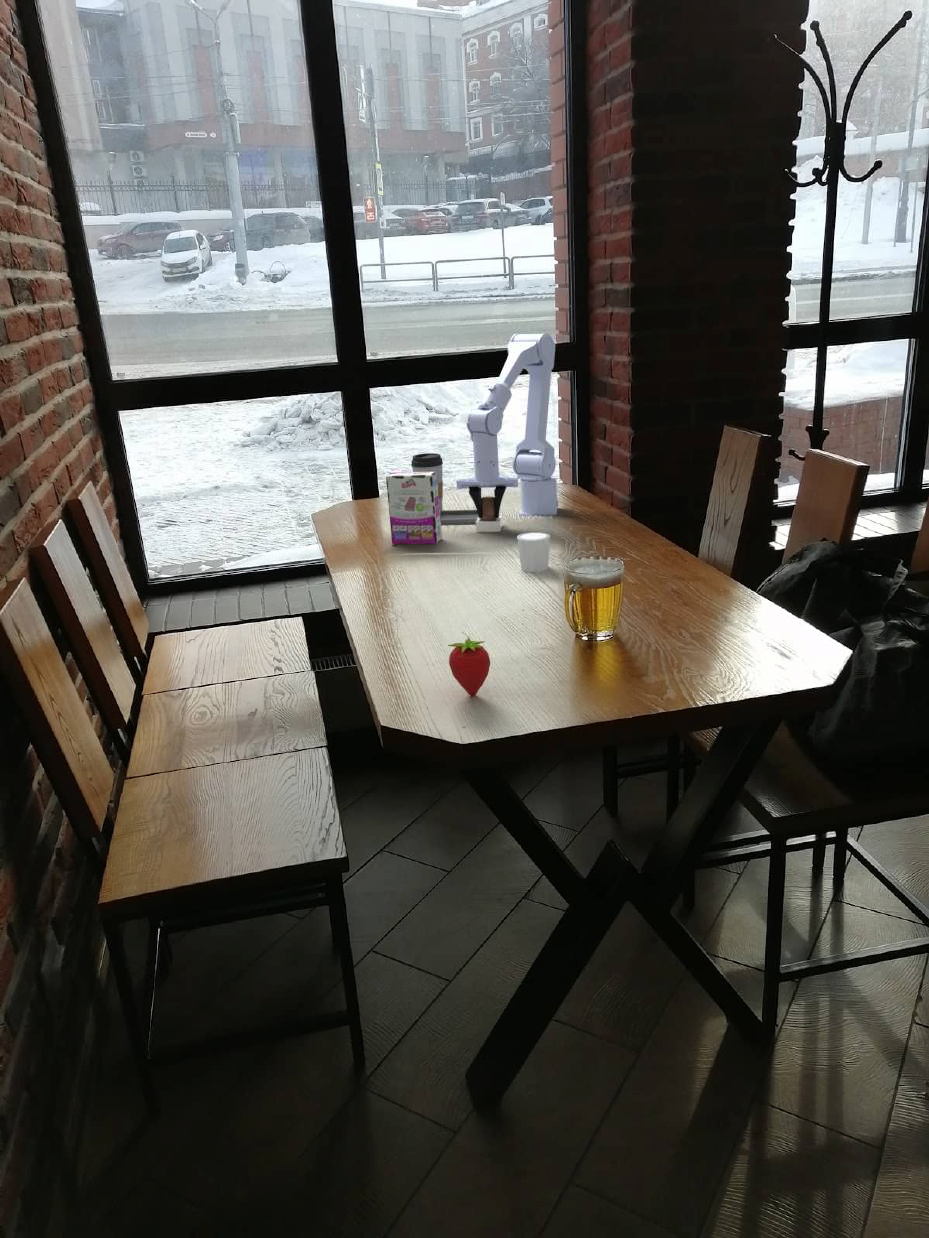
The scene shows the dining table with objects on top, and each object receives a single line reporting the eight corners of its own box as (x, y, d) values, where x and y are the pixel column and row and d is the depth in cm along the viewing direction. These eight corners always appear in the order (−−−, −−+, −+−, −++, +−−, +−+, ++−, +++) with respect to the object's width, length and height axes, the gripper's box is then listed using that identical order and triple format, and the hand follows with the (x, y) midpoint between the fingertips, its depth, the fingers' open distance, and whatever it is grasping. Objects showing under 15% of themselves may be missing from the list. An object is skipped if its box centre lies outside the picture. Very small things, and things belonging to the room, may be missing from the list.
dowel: (497, 526, 226) (495, 496, 224) (495, 530, 223) (494, 499, 220) (483, 527, 227) (481, 496, 224) (481, 530, 223) (480, 499, 221)
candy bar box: (442, 540, 219) (438, 470, 213) (437, 545, 214) (432, 475, 209) (397, 539, 222) (391, 471, 216) (391, 545, 217) (385, 475, 212)
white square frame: (502, 526, 227) (502, 515, 226) (500, 533, 222) (499, 521, 221) (479, 527, 228) (478, 516, 227) (476, 533, 223) (475, 522, 222)
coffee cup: (410, 515, 244) (405, 458, 239) (420, 508, 251) (416, 452, 246) (440, 516, 241) (436, 458, 236) (450, 508, 249) (446, 452, 244)
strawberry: (455, 709, 132) (451, 643, 128) (447, 687, 139) (443, 625, 135) (496, 703, 132) (493, 638, 129) (486, 683, 139) (483, 620, 136)
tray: (492, 515, 239) (491, 509, 238) (487, 525, 230) (487, 518, 229) (438, 516, 241) (438, 510, 241) (432, 526, 232) (431, 520, 231)
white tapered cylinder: (549, 573, 189) (548, 540, 187) (515, 573, 191) (514, 540, 188) (552, 563, 196) (552, 531, 193) (520, 563, 197) (519, 531, 195)
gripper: (453, 465, 217) (456, 522, 221) (515, 463, 214) (517, 520, 219) (457, 459, 223) (460, 514, 228) (518, 457, 221) (520, 513, 226)
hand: (488, 517), depth 224 cm, fingers closed on dowel, 3 cm apart
